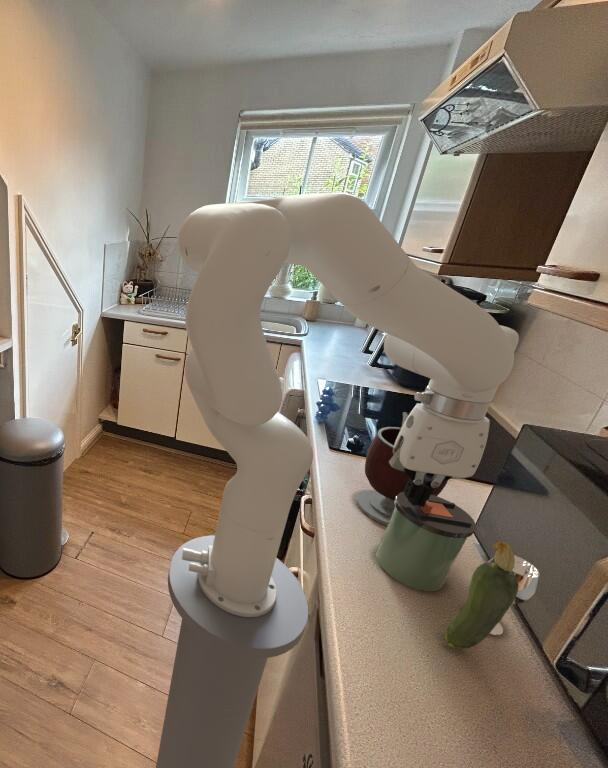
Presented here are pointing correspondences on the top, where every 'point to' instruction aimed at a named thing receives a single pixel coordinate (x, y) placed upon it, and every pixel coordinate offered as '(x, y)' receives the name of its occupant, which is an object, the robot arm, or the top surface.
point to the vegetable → (485, 600)
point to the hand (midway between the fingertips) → (413, 500)
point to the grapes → (326, 405)
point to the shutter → (435, 509)
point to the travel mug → (423, 543)
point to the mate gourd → (384, 477)
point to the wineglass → (521, 585)
